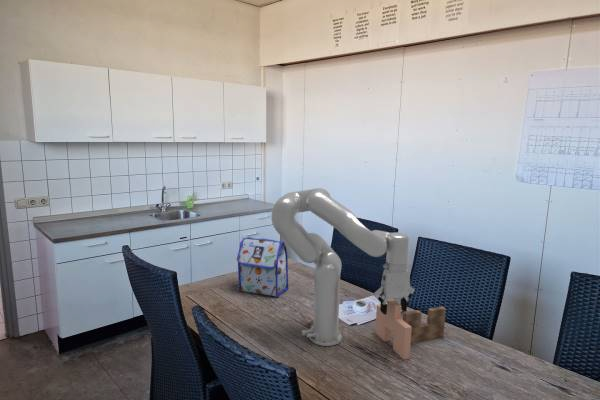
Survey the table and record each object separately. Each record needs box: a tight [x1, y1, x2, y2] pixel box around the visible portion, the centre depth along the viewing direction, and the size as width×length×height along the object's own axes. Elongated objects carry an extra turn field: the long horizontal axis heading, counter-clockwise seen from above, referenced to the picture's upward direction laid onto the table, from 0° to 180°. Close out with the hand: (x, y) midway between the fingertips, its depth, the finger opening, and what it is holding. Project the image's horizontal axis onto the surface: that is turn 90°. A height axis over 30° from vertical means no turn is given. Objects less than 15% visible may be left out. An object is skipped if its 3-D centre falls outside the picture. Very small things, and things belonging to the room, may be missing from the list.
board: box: [402, 306, 447, 344], centre depth 156 cm, size 18×2×12 cm, turn 109°
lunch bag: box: [236, 236, 290, 298], centre depth 200 cm, size 23×17×27 cm
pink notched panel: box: [374, 299, 412, 360], centre depth 151 cm, size 20×2×17 cm, turn 19°
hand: (393, 311), depth 150 cm, fingers open, 7 cm apart
